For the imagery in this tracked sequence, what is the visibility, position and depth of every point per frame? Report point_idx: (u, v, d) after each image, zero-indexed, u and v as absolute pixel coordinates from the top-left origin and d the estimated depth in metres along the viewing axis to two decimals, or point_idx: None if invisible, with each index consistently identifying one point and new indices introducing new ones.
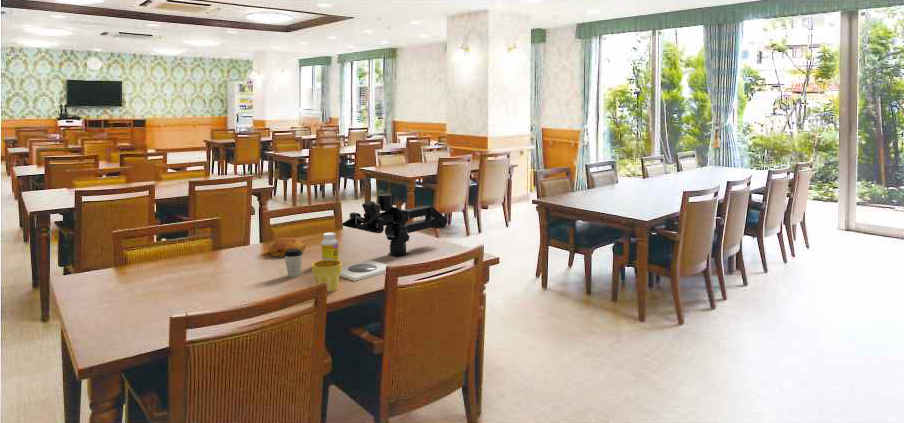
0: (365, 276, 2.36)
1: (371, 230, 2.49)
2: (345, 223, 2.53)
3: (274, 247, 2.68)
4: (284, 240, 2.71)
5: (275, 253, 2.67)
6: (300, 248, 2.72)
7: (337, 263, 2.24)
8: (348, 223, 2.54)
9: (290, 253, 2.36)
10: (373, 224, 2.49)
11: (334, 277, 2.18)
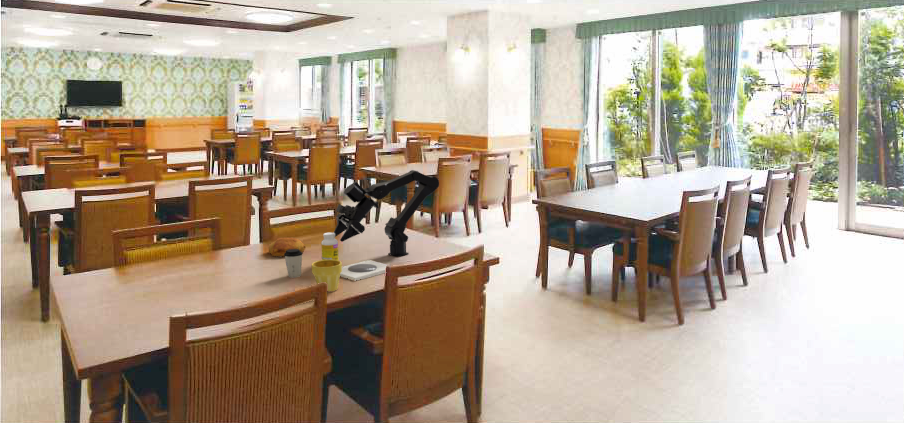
0: (365, 276, 2.36)
1: (354, 233, 2.52)
2: None
3: (274, 247, 2.68)
4: (285, 240, 2.71)
5: (275, 253, 2.67)
6: (300, 248, 2.72)
7: (337, 263, 2.24)
8: (337, 231, 2.60)
9: (290, 253, 2.36)
10: (352, 228, 2.50)
11: (334, 277, 2.18)
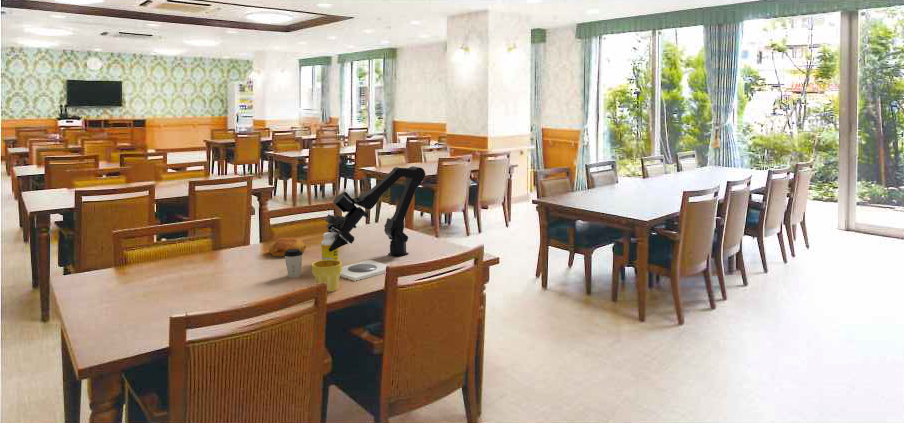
0: (365, 276, 2.36)
1: (343, 243, 2.51)
2: None
3: (275, 247, 2.68)
4: (285, 240, 2.71)
5: (276, 253, 2.67)
6: (301, 248, 2.72)
7: (337, 263, 2.24)
8: None
9: (290, 253, 2.36)
10: (340, 238, 2.50)
11: (334, 277, 2.18)
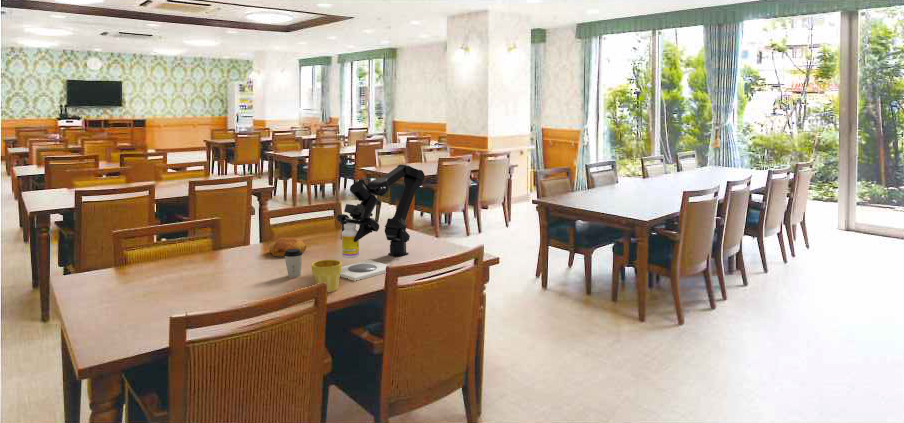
0: (365, 276, 2.36)
1: (367, 232, 2.44)
2: None
3: (275, 247, 2.68)
4: (285, 240, 2.71)
5: (276, 253, 2.67)
6: (301, 248, 2.72)
7: (337, 263, 2.24)
8: None
9: (290, 253, 2.36)
10: (365, 227, 2.43)
11: (334, 277, 2.18)
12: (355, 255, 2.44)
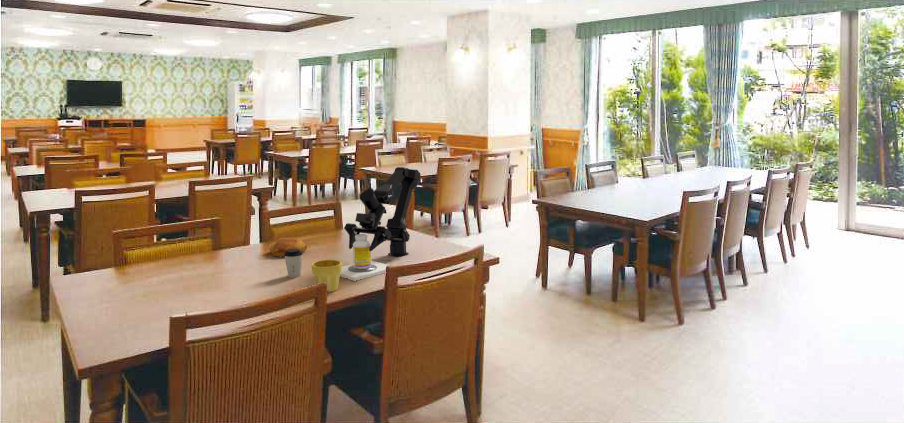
0: (365, 276, 2.36)
1: (381, 241, 2.43)
2: (350, 244, 2.44)
3: (275, 247, 2.68)
4: (286, 240, 2.71)
5: (276, 253, 2.67)
6: (301, 248, 2.72)
7: (337, 263, 2.24)
8: (352, 242, 2.45)
9: (290, 253, 2.36)
10: (380, 236, 2.42)
11: (334, 277, 2.18)
12: (368, 266, 2.43)
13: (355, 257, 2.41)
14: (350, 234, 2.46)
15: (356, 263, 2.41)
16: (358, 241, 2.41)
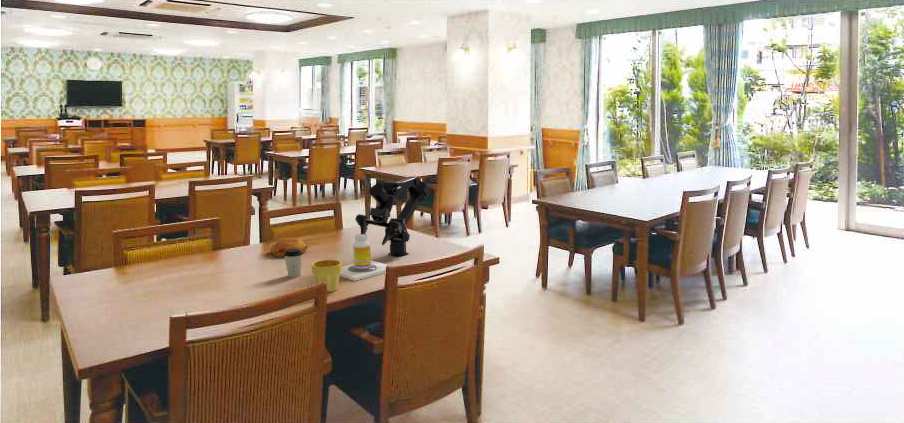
0: (365, 276, 2.36)
1: (392, 235, 2.53)
2: None
3: (276, 247, 2.68)
4: (286, 240, 2.71)
5: (277, 253, 2.67)
6: (302, 248, 2.72)
7: (337, 263, 2.24)
8: None
9: (290, 253, 2.36)
10: (392, 231, 2.51)
11: (334, 277, 2.18)
12: (368, 266, 2.43)
13: (355, 257, 2.41)
14: (361, 226, 2.53)
15: (356, 263, 2.41)
16: (358, 241, 2.41)
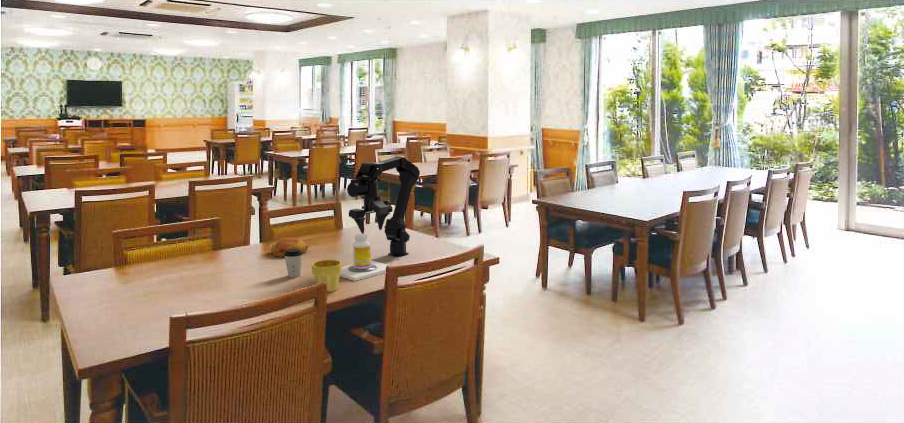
0: (365, 276, 2.36)
1: None
2: None
3: (276, 247, 2.68)
4: (287, 240, 2.71)
5: (277, 253, 2.67)
6: (302, 248, 2.72)
7: (337, 263, 2.24)
8: None
9: (290, 253, 2.36)
10: None
11: (334, 277, 2.18)
12: (368, 266, 2.43)
13: (355, 257, 2.41)
14: (362, 221, 2.49)
15: (356, 263, 2.41)
16: (358, 241, 2.41)
